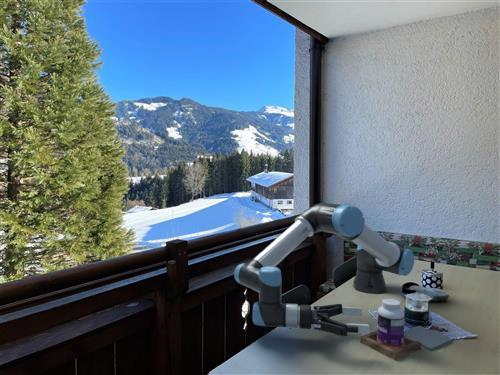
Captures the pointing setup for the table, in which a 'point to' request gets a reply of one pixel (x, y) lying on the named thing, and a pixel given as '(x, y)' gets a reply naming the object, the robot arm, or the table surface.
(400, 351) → the walnut frame
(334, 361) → the table surface
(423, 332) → the slate coaster
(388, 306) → the pill bottle
